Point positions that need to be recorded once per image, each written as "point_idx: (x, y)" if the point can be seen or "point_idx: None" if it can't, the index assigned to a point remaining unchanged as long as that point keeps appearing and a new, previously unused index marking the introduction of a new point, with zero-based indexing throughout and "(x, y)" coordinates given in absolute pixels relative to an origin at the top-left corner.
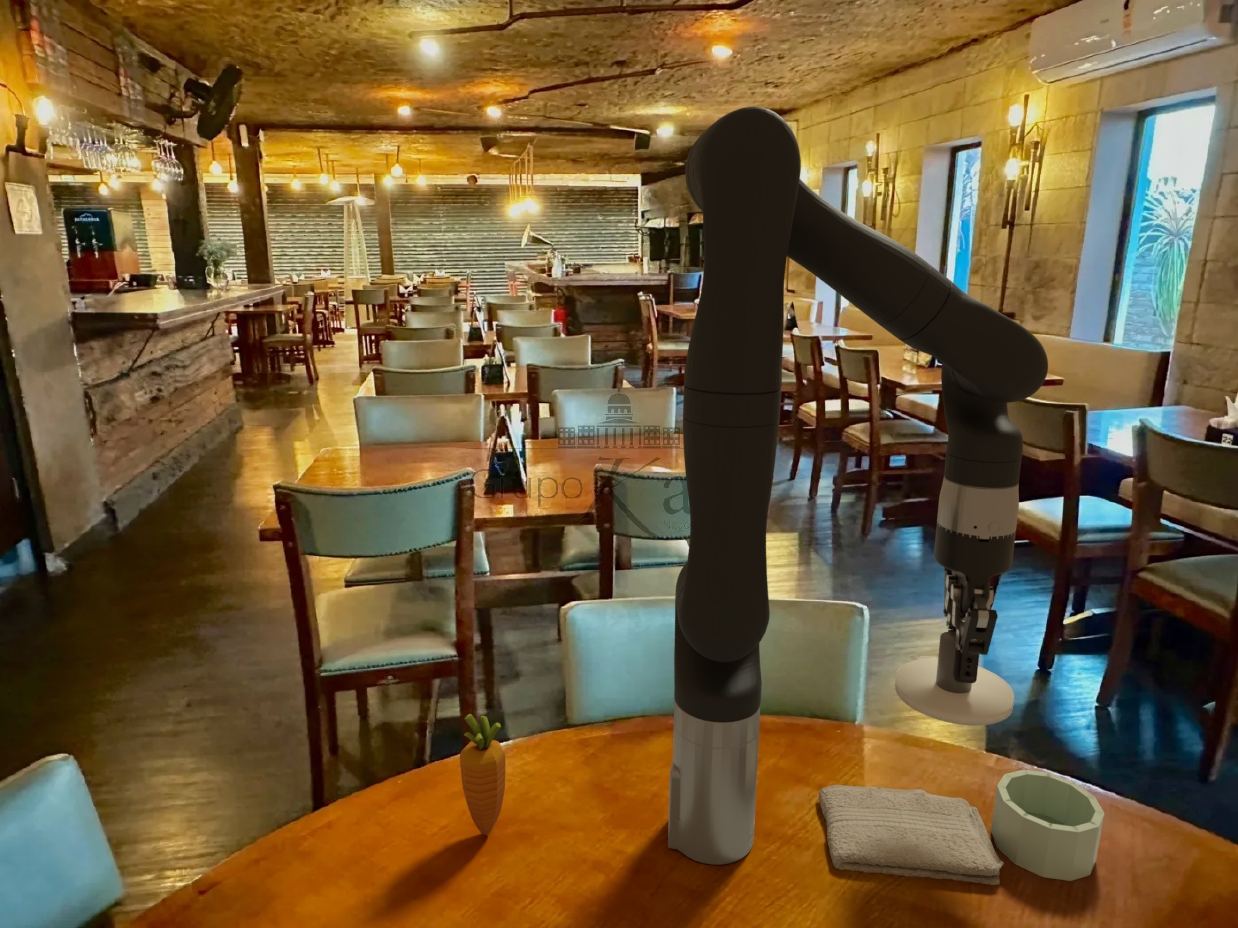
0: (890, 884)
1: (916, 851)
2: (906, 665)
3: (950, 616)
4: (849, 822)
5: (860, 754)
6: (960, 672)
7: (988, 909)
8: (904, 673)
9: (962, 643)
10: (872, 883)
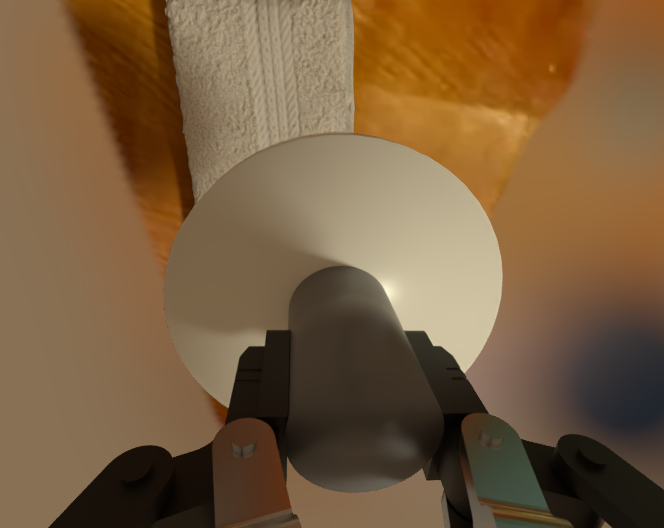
0: (163, 94)
1: (200, 142)
2: (457, 193)
3: (475, 493)
4: (250, 34)
5: (479, 100)
6: (243, 364)
7: (158, 221)
8: (399, 175)
9: (105, 505)
10: (156, 64)
